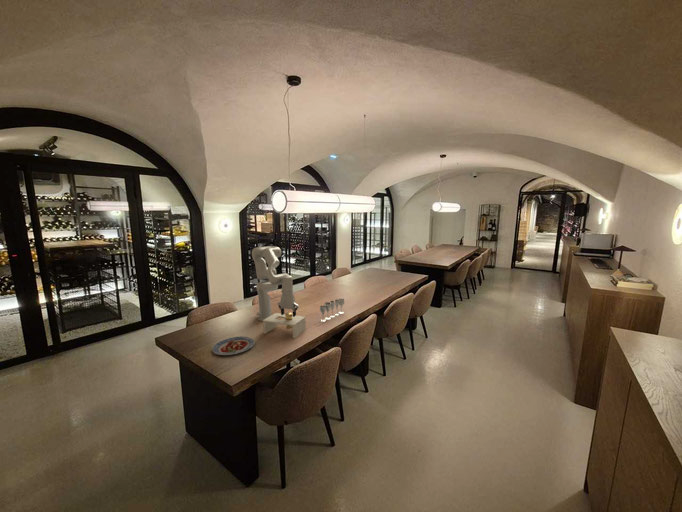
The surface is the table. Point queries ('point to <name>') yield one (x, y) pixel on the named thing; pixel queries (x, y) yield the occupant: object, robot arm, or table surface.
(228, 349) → the ceramic plate
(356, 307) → the table surface
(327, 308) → the goblet set
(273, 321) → the keyhole shelf
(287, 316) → the brass capped stopper
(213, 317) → the table surface
